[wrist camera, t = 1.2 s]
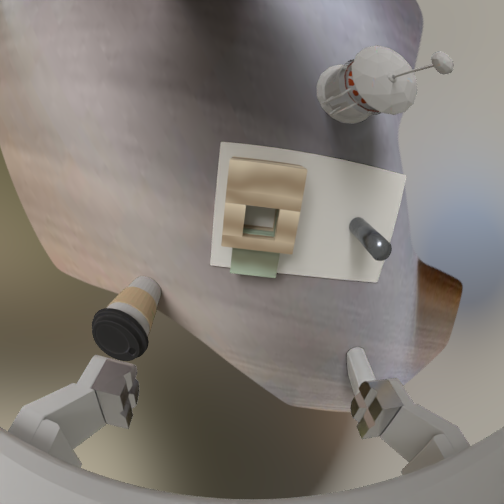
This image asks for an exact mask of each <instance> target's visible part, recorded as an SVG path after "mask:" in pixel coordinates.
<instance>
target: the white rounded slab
mask: <svg viewBox="0 0 504 504" xmlns="http://www.w3.org/2000/svg"><path fill="white" fill-rule="evenodd" d="M347 369H348V376H349V379H350V383H351V386H352V389H353V392H354V395H357V394H358V393H359V392H360V391H359V387H360V385H361V383H363V382H364V381H372V380H376V379H375V377H374V374H373V371H372V369H371V366H370V364H369V361H368V359H367V357H366V354H365V352H364V350H363V348H360V347H355V348H352V349H350V350H349V352H347Z"/></svg>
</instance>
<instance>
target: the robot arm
mask: <svg viewBox="0 0 504 504" xmlns="http://www.w3.org/2000/svg"><path fill="white" fill-rule="evenodd" d="M136 375H137V368H136V366H135V365H134V364H130V363H126V362H122V361H118V360H114V359H111V358H106V357H103V356H99V355H95V356H93V358H92V359H91V361H90V362H89V364H88V366H87V367H86V369H85V371H84V373H83V374H82V376H81V378H80V379H79V381H78V383H77V384H75V383H72V384H70V385H68V386H66V387H64V388H62V389H59V390H57V391H55V392H53V393H51V394H49V395H47V396H44V397H42V398H40V399H38V400H36V401H34V402H32V403H29V404H27V405H25V406H23V407H22V409H21V410H20V412H19V414H18V415H17V417H16V418H15V420H14V422H13V423H12V425H11V427H10V428H9V430H8V431H6V430H4V429H3V428H1V427H0V504H504V427H502V428H501V429H499V430H498V431H496V432H494V433H493V434H491V435H490V436H488V437H486V438H485V439H483V440H481V441H479V442H477V443H476V444H474V445H472V446H470V445H469V443H468V441H467V440H466V439H465V437H464V435H463V434H462V432H461V431H460V429H459V428H458V426H456V425H454V424H452V423H451V422H449V421H447V420H445V419H443V418H441V417H440V416H438V415H436V414H434V413H433V412H431V411H429V410H427V409H425V408H424V407H422V406H421V405H419V404H414V402H413V401H412V399H411V397H410V396H409V394H408V393H407V391H406V390H405V388H404V387H403V385H402V384H401V382H400V381H399V380H398V379H397V378H391V379H382V380H372V381H364V382H363V383H361V385H360V387H359V391H360V392H359V393H358V394H357V395H355V396H354V398H353V400H352V402H351V414H352V417H353V419H355V420H356V421H358V424H357V429H358V431H359V434H360V436H361V438H362V439H366V438H372V437H378V436H380V438H381V439H382V440H384V441H385V442H386V443H387V444H388V445H389V446H390V447H392V448H393V449H394V450H395V451H396V452H397V453H399V454H400V455H401V456H402V457H403V458H404V459H406V460H407V461H408V462H409V463H408V464H407V465H406V466H405V467H404V468H403V469H402V471H401V473H402V476H399V477H396V478H393V479H389V480H386V481H383V482H379V483H375V484H371V485H367V486H363V487H359V488H355V489H350V490H345V491H340V492H334V493H328V494H321V495H314V496H306V497H296V498H284V499H259V500H247V499H244V500H243V499H219V498H207V497H198V496H188V495H182V494H176V493H170V492H164V491H159V490H154V489H149V488H145V487H140V486H136V485H132V484H128V483H125V482H121V481H118V480H114V479H111V478H108V477H105V476H102V475H99V474H96V473H93V472H90V471H87V470H85V469H82V468H81V465H82V463H81V461H80V460H79V458H78V457H77V455H76V454H75V452H74V450H73V449H74V448H76V447H77V446H78V445H80V444H81V443H82V442H84V441H85V440H86V439H88V438H89V437H90V436H92V435H93V434H94V433H96V432H97V431H98V430H100V429H101V428H102V427H104V426H105V425H106V424H110V425H114V426H118V427H122V428H126V429H129V426H130V423H131V419H132V417H133V413H132V408H134V407H135V406H136V404H137V401H138V396H139V382H138V381H137V380H136V379H135V378H136Z"/></svg>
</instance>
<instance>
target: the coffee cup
mask: <svg viewBox="0 0 504 504" xmlns="http://www.w3.org/2000/svg"><path fill="white" fill-rule="evenodd" d="M160 296H161V289H160V287H159V285H158V284H157V282H155V281H154V280H153V279H151V278H149V277H146V276H140V277H138V278H136V279H135V280H134V281H133V282H132V283H131V284H130V285H129V286H128V287H127V288H125V289H124V290H123V291H122V292H121V293H120V294H119V295H118V296H117V297H116V298H115V299H114V300H113V301H112V302H111V303H110V304H109V305H108V307H107V308H105V309H101V310H99V311H98V312H97V313H96V314H95V316H94V319H93V322H92V329H93V330H92V333H93V338H94V340H95V342H96V344H97V345H98V346H99V348H101V350H102V351H104V352H105V353H106V354H108V355H109V356H111V357H113V358H115V359H118V360H122V361H130V360H133V359H135V358H137V357H140V356H141V355H142V354H143V353H144V352H145V351H146V349H147V347H148V335H149V333H150V330H151V326H152V323H153V320H154V317H155V314H156V310H157V305H158V302H159V299H160Z"/></svg>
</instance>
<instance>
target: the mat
mask: <svg viewBox="0 0 504 504" xmlns="http://www.w3.org/2000/svg"><path fill="white" fill-rule="evenodd" d="M233 156H236V157H245V158H253V159H262V160H269V161H277V162H283V163H290V164H297V165H301V166H303V167H304V168H306V169H307V176H306V182H305V188H304V194H303V200H302V206H301V211H300V217H299V222H298V228H297V233H296V238H295V244H294V249H293V254H283V253H280V256H279V262H278V267H277V273H283V274H292V275H302V276H312V277H322V278H332V279H342V280H352V281H363V282H374V283H377V281H378V278H379V275H380V272H381V269H382V266H383V263H384V260H383V261H377V260H375V259H374V258H373V257H372V256H371V254H370V253H369V252H368V251H367V250H366V249H365V247H364V246H363V245H362V244H361V243H360V242H359V240H358V239H357V238H356V237H355V236H354V235H353V234H352V233H351V231H350V229H349V224H350V222H351V220H352V219H354V218H356V217H361V218H363V219H364V220H365V221H366V222H367V223H369V224H370V225H371V226H372V227H373V228H374V229H375V230H376V231H377V232H379V233H380V234H381V235H382V236H383V237H384V238H385V239H386V240H387V241H388V242H389V243H390V240H391V237H392V233H393V230H394V226H395V223H396V219H397V215H398V211H399V207H400V203H401V199H402V194H403V190H404V185H405V181H406V175H403V174H399V173H396V172H392V171H388V170H385V169H381V168H377V167H373V166H369V165H364V164H360V163H356V162H351V161H347V160H342V159H337V158H332V157H327V156H322V155H317V154H311V153H306V152H300V151H294V150H287V149H281V148H274V147H266V146H258V145H250V144H241V143H231V142H221V145H220V154H219V164H218V174H217V185H216V196H215V207H214V220H213V233H212V247H211V262H210V265H213V266H221V267H231V257H232V248H231V247H223V246H221V243H222V231H223V220H224V210H225V199H226V189H227V179H228V170H229V161H230V159H231V158H232V157H233ZM274 216H275V209H274V208H266V207H258V206H250V205H246V210H245V219H244V224H247V225H255V226H263V227H271V228H273V223H274Z"/></svg>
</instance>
